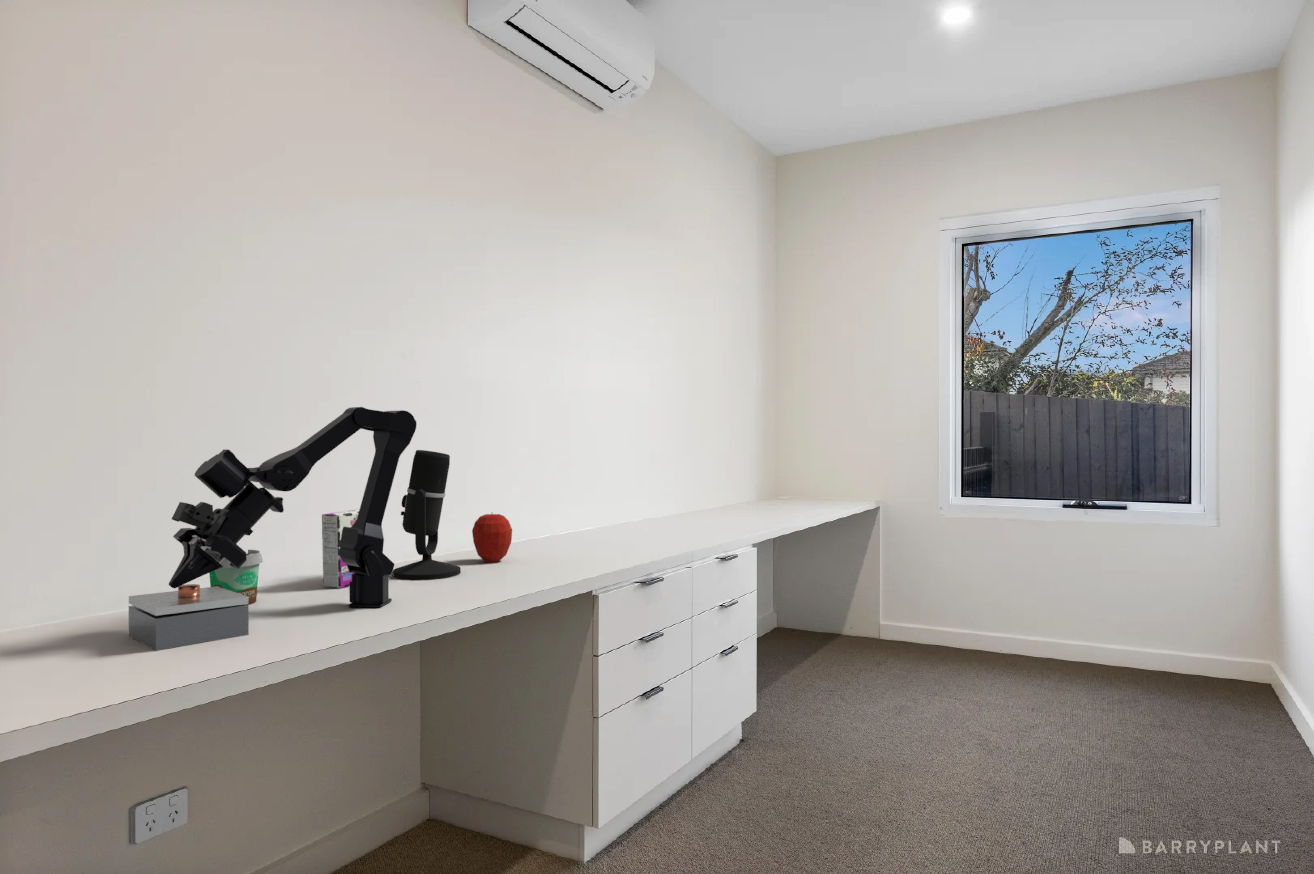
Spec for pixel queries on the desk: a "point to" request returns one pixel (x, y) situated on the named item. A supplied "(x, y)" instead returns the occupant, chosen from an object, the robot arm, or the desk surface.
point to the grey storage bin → (187, 626)
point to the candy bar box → (335, 548)
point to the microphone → (425, 515)
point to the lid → (187, 600)
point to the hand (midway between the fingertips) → (171, 586)
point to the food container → (239, 576)
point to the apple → (492, 537)
